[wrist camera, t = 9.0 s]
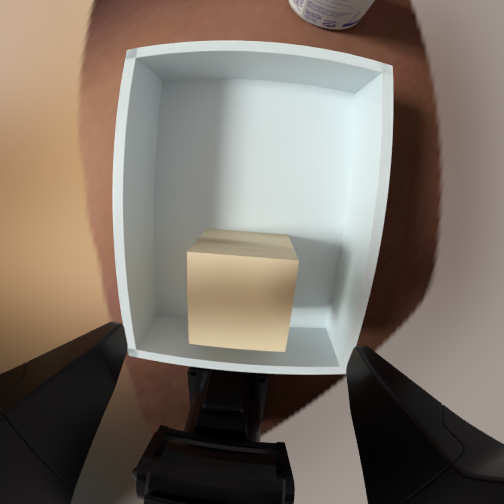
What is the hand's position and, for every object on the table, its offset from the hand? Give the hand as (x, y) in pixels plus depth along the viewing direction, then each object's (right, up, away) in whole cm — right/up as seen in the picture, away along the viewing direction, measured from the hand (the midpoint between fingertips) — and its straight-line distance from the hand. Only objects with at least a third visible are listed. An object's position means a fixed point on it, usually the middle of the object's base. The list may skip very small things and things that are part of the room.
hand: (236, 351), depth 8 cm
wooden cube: (0, +2, +10) cm, 10 cm away
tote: (0, +6, +9) cm, 11 cm away
